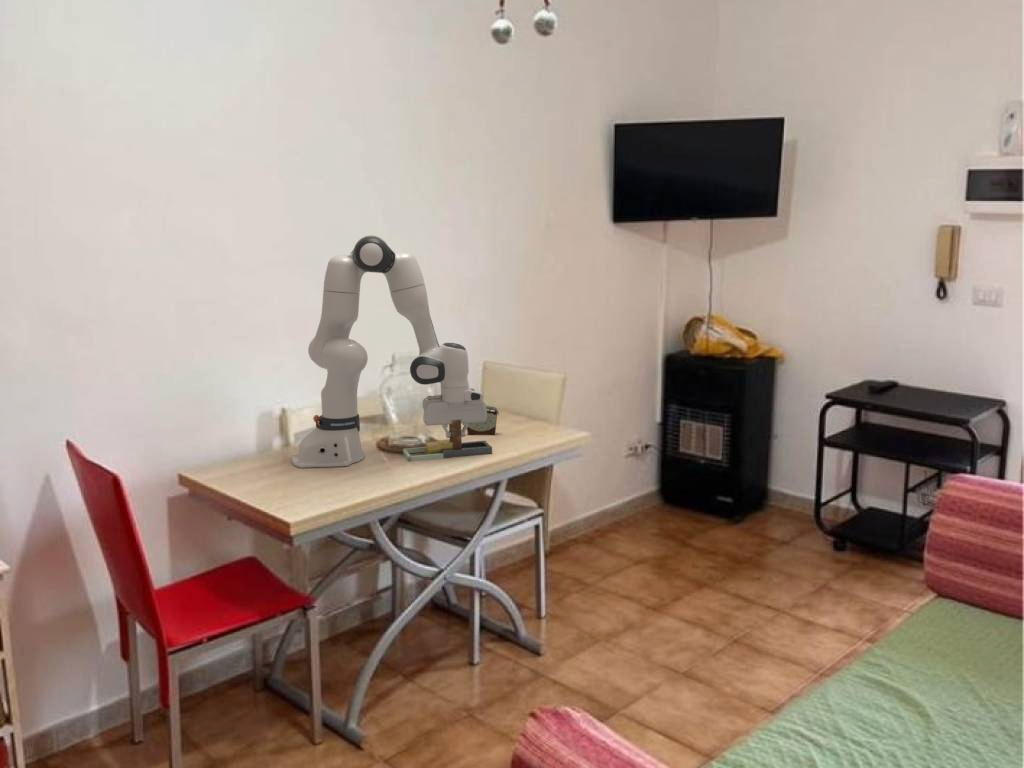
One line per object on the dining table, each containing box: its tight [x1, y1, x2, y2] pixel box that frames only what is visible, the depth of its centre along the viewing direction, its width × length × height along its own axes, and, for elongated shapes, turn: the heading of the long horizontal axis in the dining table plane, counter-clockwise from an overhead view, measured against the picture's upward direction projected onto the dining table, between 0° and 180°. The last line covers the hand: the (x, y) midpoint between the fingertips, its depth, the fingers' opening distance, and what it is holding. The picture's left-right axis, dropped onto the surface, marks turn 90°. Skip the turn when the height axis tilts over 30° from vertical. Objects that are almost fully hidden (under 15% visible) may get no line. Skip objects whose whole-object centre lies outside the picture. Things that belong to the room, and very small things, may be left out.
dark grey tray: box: [442, 440, 493, 459], centre depth 298 cm, size 16×10×3 cm, turn 107°
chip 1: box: [424, 441, 440, 455], centre depth 294 cm, size 4×4×4 cm
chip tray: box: [402, 446, 445, 462], centre depth 294 cm, size 11×10×2 cm
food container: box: [466, 405, 500, 436], centre depth 321 cm, size 12×6×10 cm, turn 84°
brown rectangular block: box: [448, 419, 463, 449], centre depth 296 cm, size 3×4×11 cm
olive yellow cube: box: [436, 438, 453, 453], centre depth 295 cm, size 4×4×4 cm
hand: (455, 436), depth 296 cm, fingers closed on brown rectangular block, 3 cm apart
